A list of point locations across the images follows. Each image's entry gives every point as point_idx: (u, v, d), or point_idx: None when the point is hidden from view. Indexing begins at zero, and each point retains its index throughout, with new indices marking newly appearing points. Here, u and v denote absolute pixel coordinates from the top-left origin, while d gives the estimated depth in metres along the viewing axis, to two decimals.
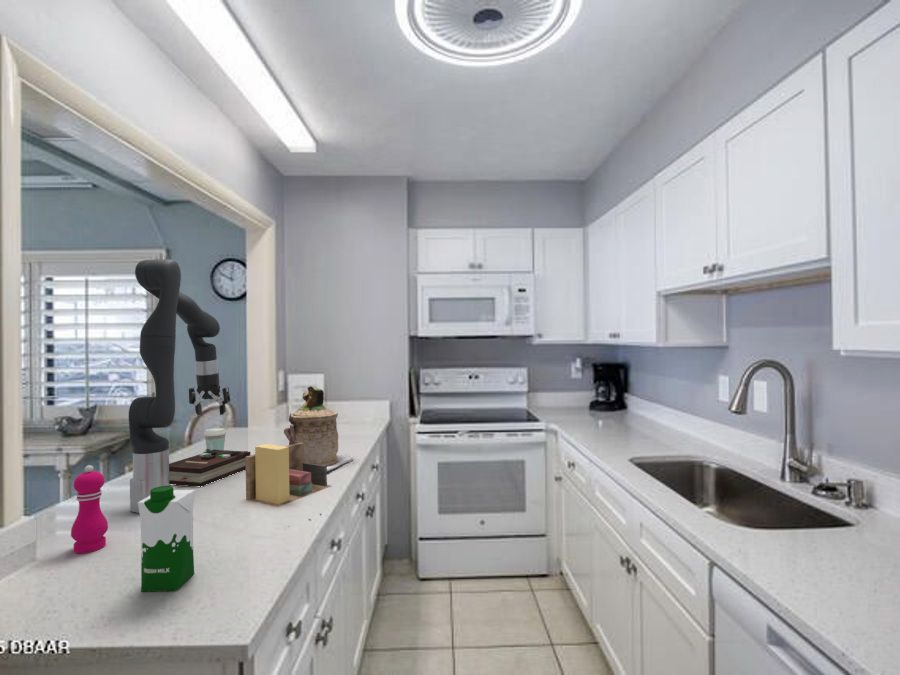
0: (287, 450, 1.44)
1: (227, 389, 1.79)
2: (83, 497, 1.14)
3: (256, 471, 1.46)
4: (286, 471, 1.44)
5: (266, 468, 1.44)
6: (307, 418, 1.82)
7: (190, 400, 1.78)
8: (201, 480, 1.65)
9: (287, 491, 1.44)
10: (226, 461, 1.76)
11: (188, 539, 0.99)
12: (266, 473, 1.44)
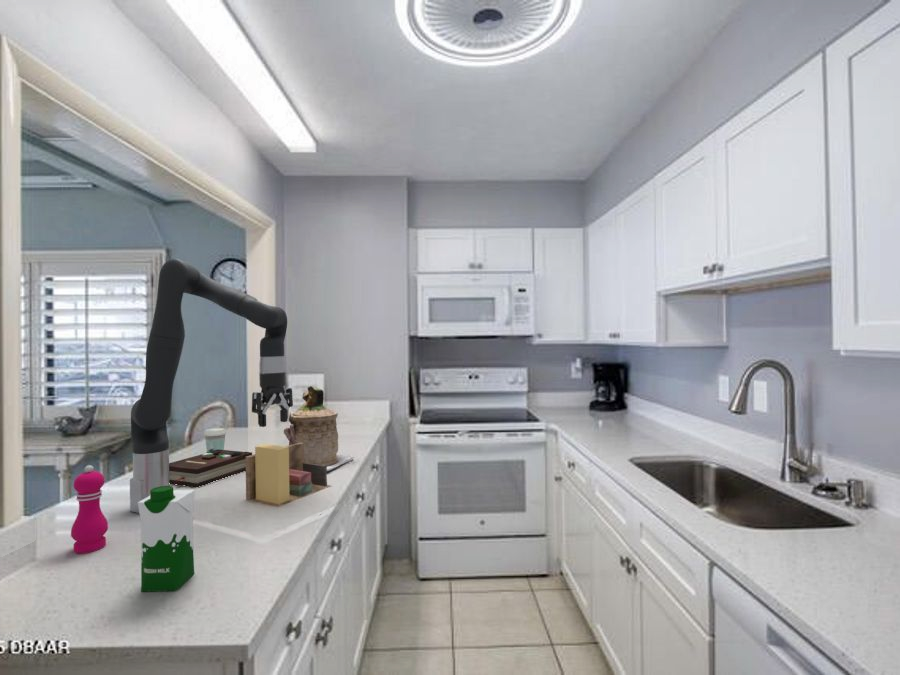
0: (287, 450, 1.44)
1: (255, 395, 1.41)
2: (83, 497, 1.14)
3: (256, 471, 1.46)
4: (286, 471, 1.44)
5: (266, 468, 1.44)
6: (307, 418, 1.82)
7: None
8: (198, 480, 1.65)
9: (287, 491, 1.44)
10: (225, 462, 1.75)
11: (188, 539, 0.99)
12: (266, 473, 1.44)
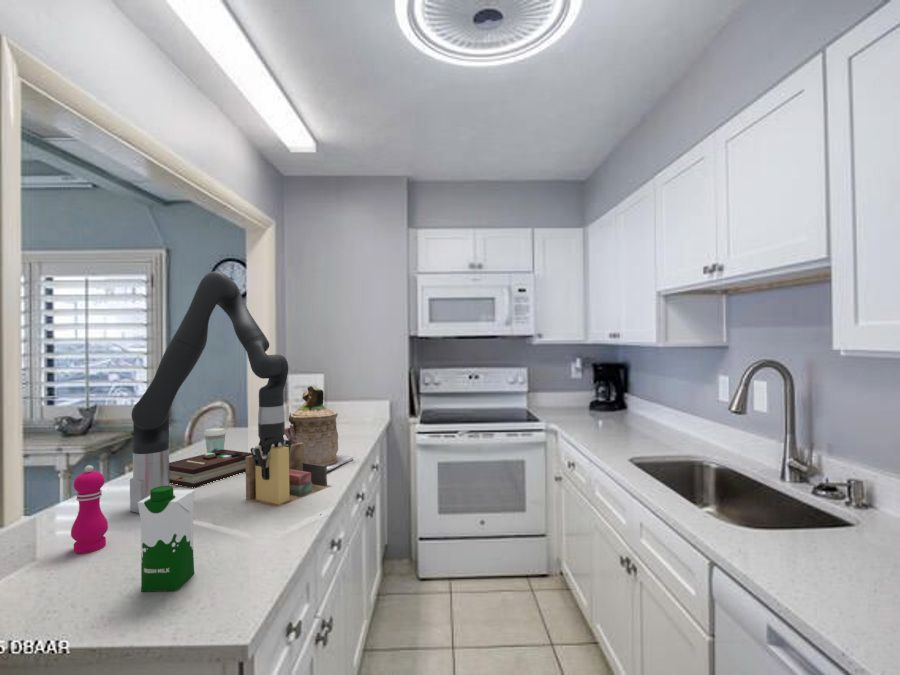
0: (287, 450, 1.44)
1: (254, 452, 1.39)
2: (83, 497, 1.14)
3: (256, 471, 1.46)
4: (286, 471, 1.44)
5: None
6: (307, 418, 1.82)
7: None
8: (194, 481, 1.64)
9: (287, 491, 1.44)
10: (224, 462, 1.74)
11: (188, 539, 0.99)
12: None
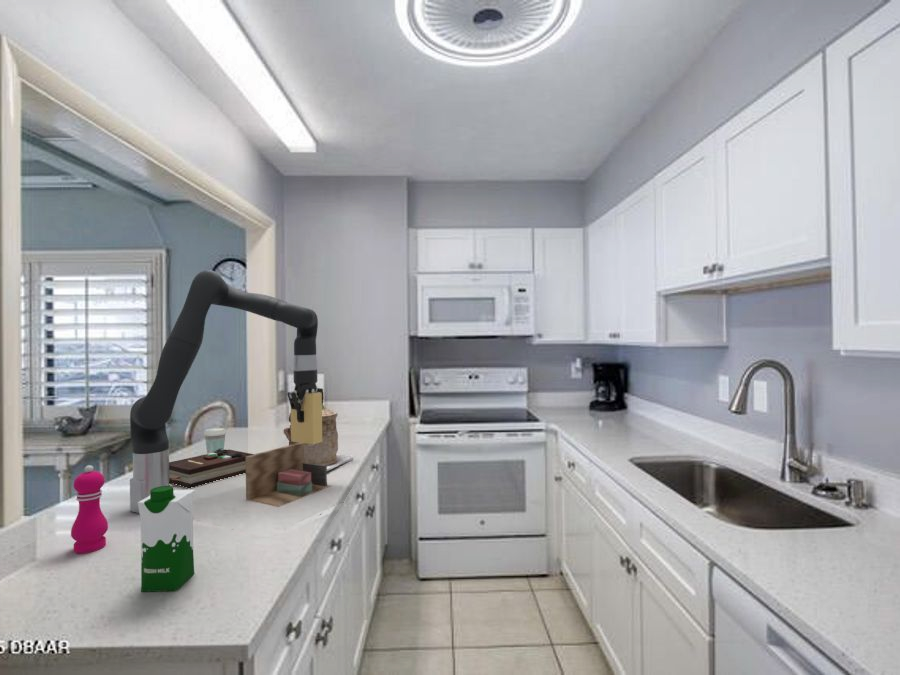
0: (320, 395, 1.56)
1: (290, 395, 1.52)
2: (83, 497, 1.14)
3: (291, 415, 1.58)
4: (320, 414, 1.56)
5: None
6: None
7: None
8: (191, 481, 1.64)
9: (320, 433, 1.56)
10: (222, 463, 1.73)
11: (188, 539, 0.99)
12: None
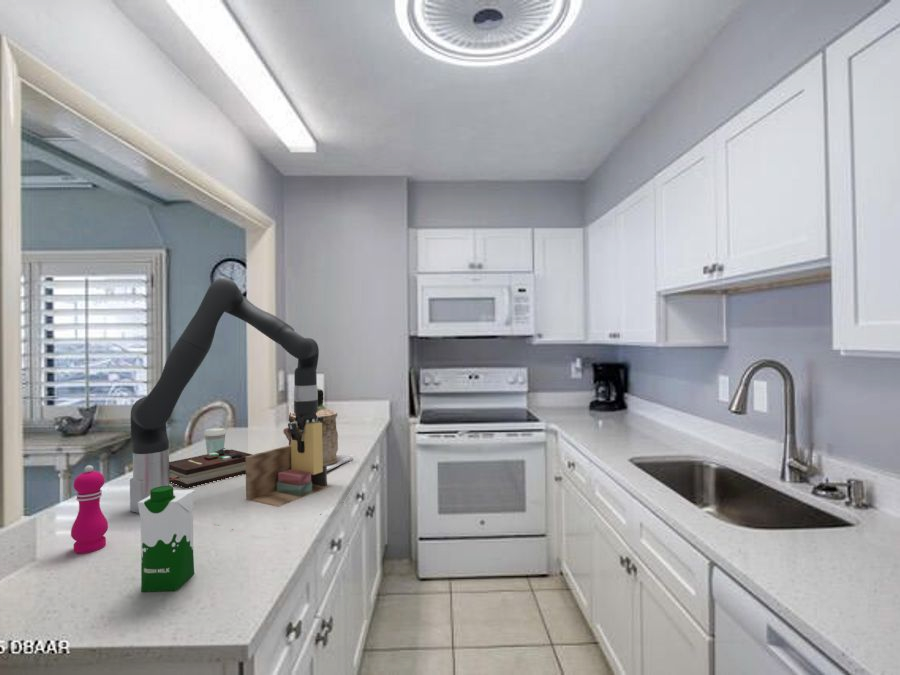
0: (320, 426, 1.57)
1: (291, 427, 1.52)
2: (83, 497, 1.14)
3: (292, 445, 1.58)
4: (320, 444, 1.56)
5: None
6: None
7: None
8: (188, 481, 1.64)
9: (321, 463, 1.56)
10: (221, 464, 1.72)
11: (188, 539, 0.99)
12: None
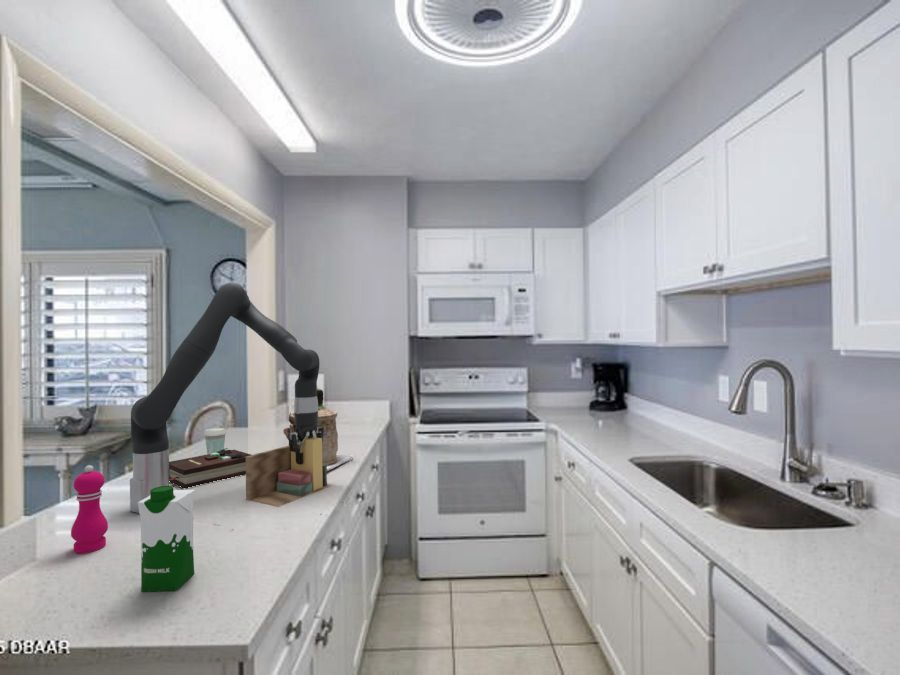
0: (320, 441, 1.56)
1: (291, 437, 1.52)
2: (83, 497, 1.14)
3: (292, 460, 1.58)
4: (320, 460, 1.56)
5: None
6: None
7: None
8: (186, 481, 1.64)
9: (320, 479, 1.56)
10: (220, 464, 1.72)
11: (188, 539, 0.99)
12: None
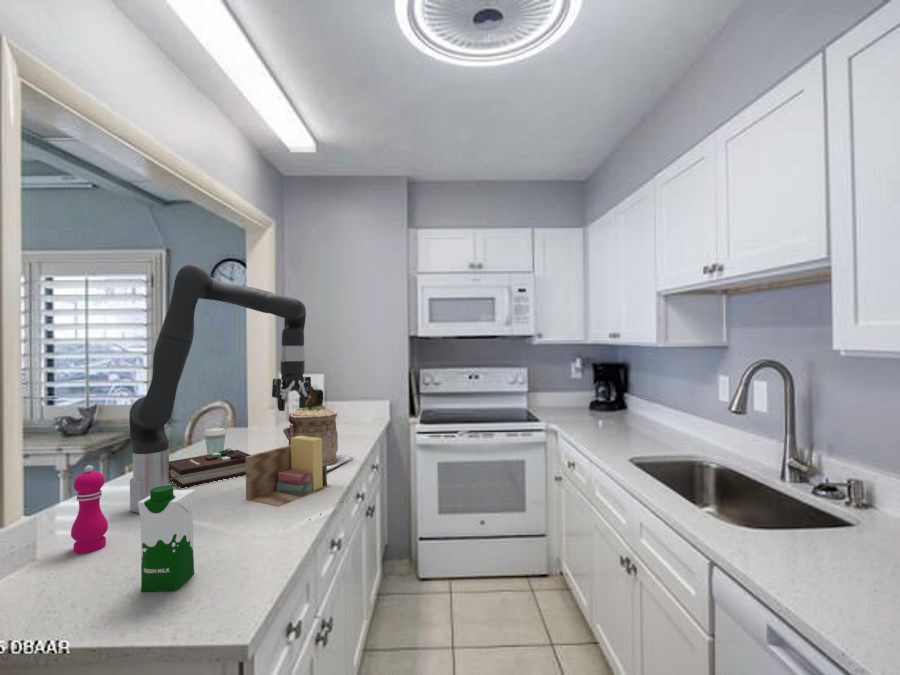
0: (320, 441, 1.56)
1: (275, 381, 1.51)
2: (83, 497, 1.14)
3: (292, 460, 1.58)
4: (320, 460, 1.56)
5: (301, 458, 1.56)
6: (307, 418, 1.83)
7: None
8: (184, 482, 1.64)
9: (320, 479, 1.56)
10: (218, 464, 1.71)
11: (188, 539, 0.99)
12: (302, 462, 1.56)
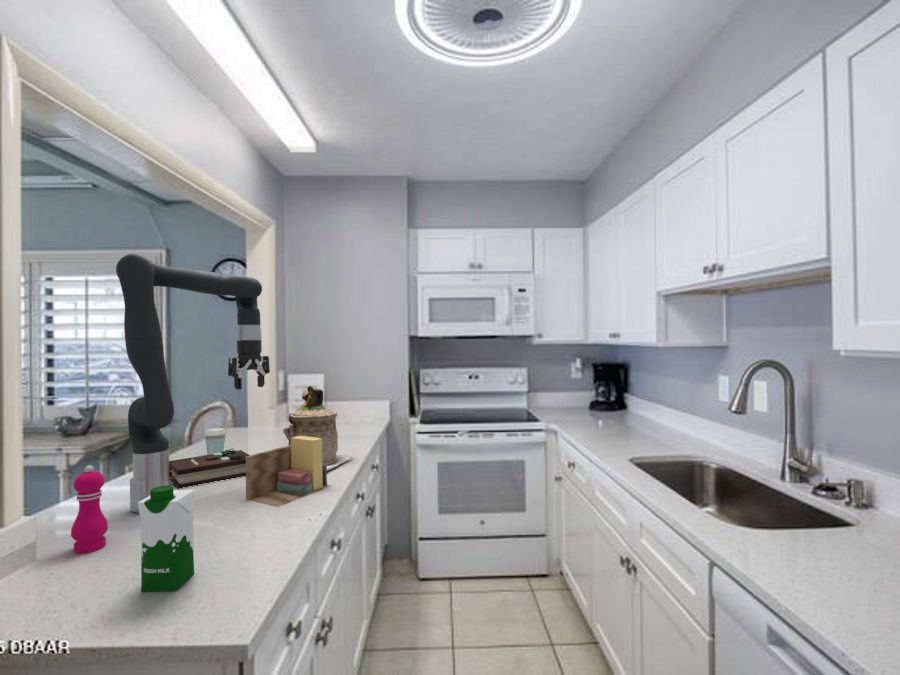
0: (320, 441, 1.56)
1: (231, 360, 1.52)
2: (83, 497, 1.14)
3: (292, 460, 1.58)
4: (320, 460, 1.56)
5: (301, 458, 1.56)
6: (306, 418, 1.83)
7: None
8: (181, 482, 1.64)
9: (320, 479, 1.56)
10: (216, 465, 1.70)
11: (188, 539, 0.99)
12: (302, 462, 1.56)
